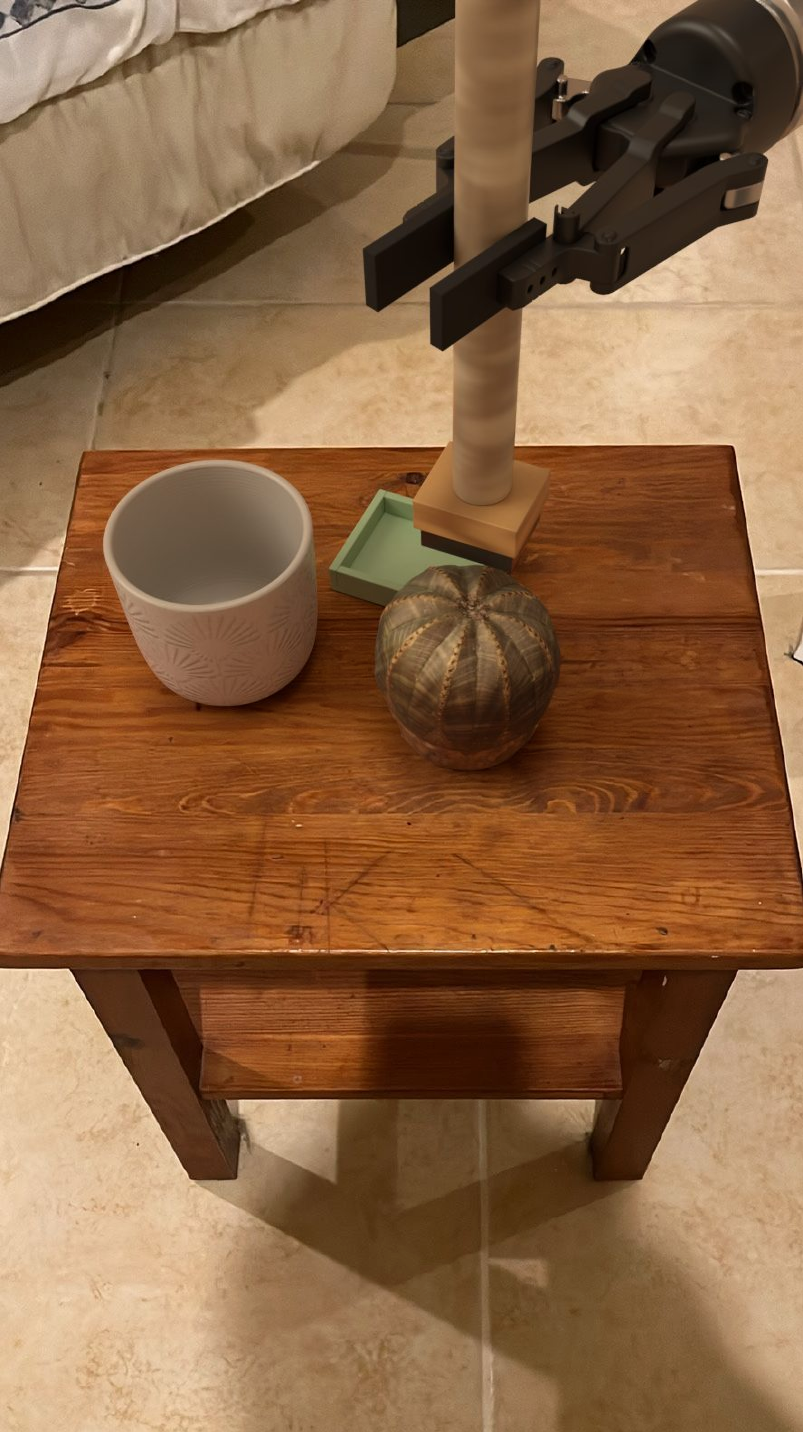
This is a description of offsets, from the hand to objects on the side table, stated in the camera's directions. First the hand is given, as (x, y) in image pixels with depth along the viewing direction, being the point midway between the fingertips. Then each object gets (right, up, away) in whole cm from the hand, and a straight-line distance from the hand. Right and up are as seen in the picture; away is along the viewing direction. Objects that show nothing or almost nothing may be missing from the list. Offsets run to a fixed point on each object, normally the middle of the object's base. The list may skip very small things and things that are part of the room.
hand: (403, 300), depth 55 cm
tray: (+1, -4, +34) cm, 34 cm away
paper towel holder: (+4, -5, +17) cm, 18 cm away
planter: (-11, -10, +30) cm, 34 cm away
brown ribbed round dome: (+4, -16, +27) cm, 31 cm away
